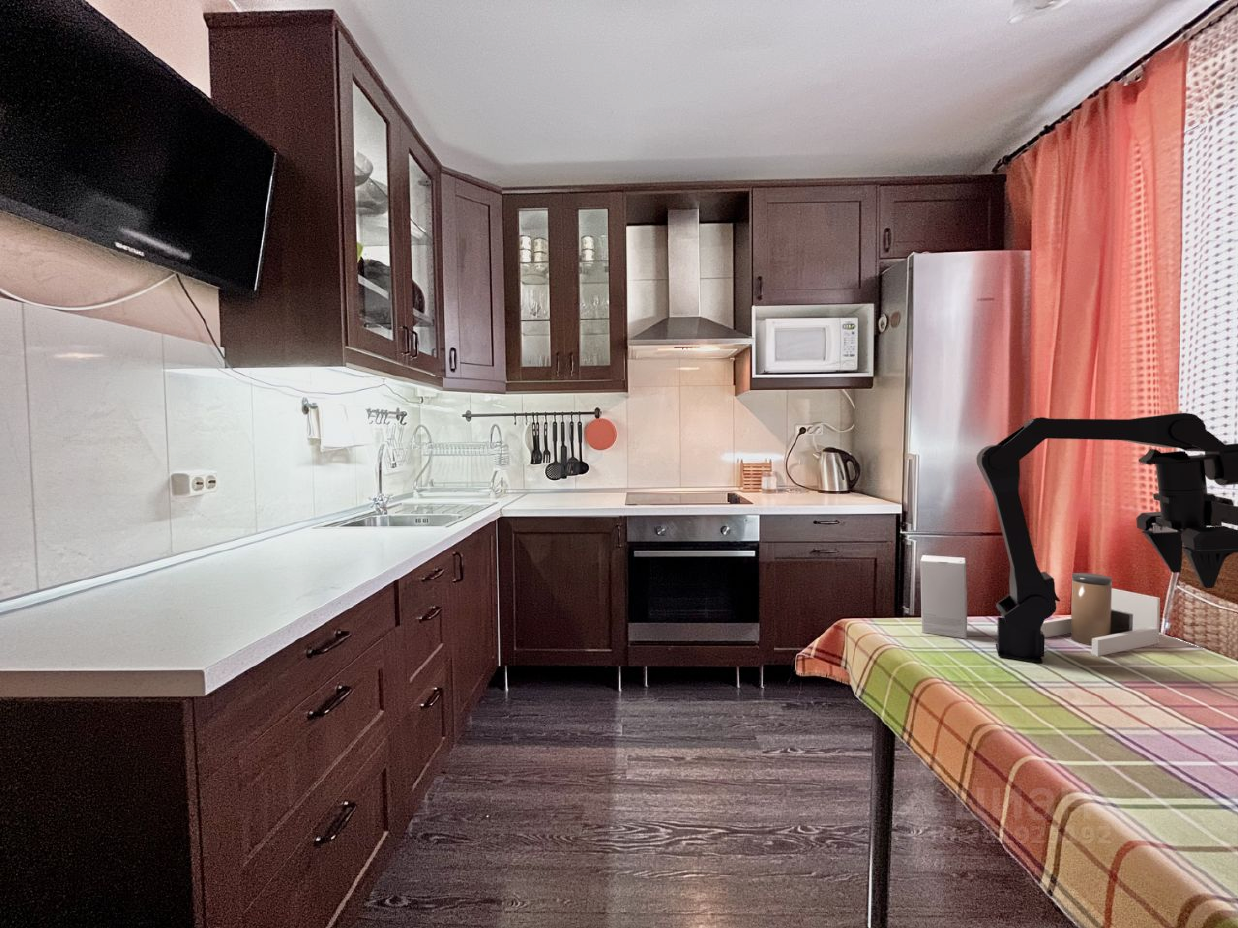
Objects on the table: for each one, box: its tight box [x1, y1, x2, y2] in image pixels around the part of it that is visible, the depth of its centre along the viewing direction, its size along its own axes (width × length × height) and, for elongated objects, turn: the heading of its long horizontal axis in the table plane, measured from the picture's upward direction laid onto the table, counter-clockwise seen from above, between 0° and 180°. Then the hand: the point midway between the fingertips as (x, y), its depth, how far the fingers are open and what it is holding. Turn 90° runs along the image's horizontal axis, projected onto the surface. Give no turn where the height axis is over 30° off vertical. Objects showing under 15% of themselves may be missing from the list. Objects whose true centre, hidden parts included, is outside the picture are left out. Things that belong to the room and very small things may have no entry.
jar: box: [1070, 572, 1113, 647], centre depth 109 cm, size 6×6×13 cm
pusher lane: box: [1041, 588, 1161, 657], centre depth 110 cm, size 18×11×9 cm, turn 109°
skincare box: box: [919, 554, 968, 639], centre depth 115 cm, size 8×7×16 cm
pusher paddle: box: [1111, 609, 1133, 635], centre depth 111 cm, size 1×8×6 cm, turn 19°
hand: (1191, 579), depth 92 cm, fingers open, 9 cm apart
